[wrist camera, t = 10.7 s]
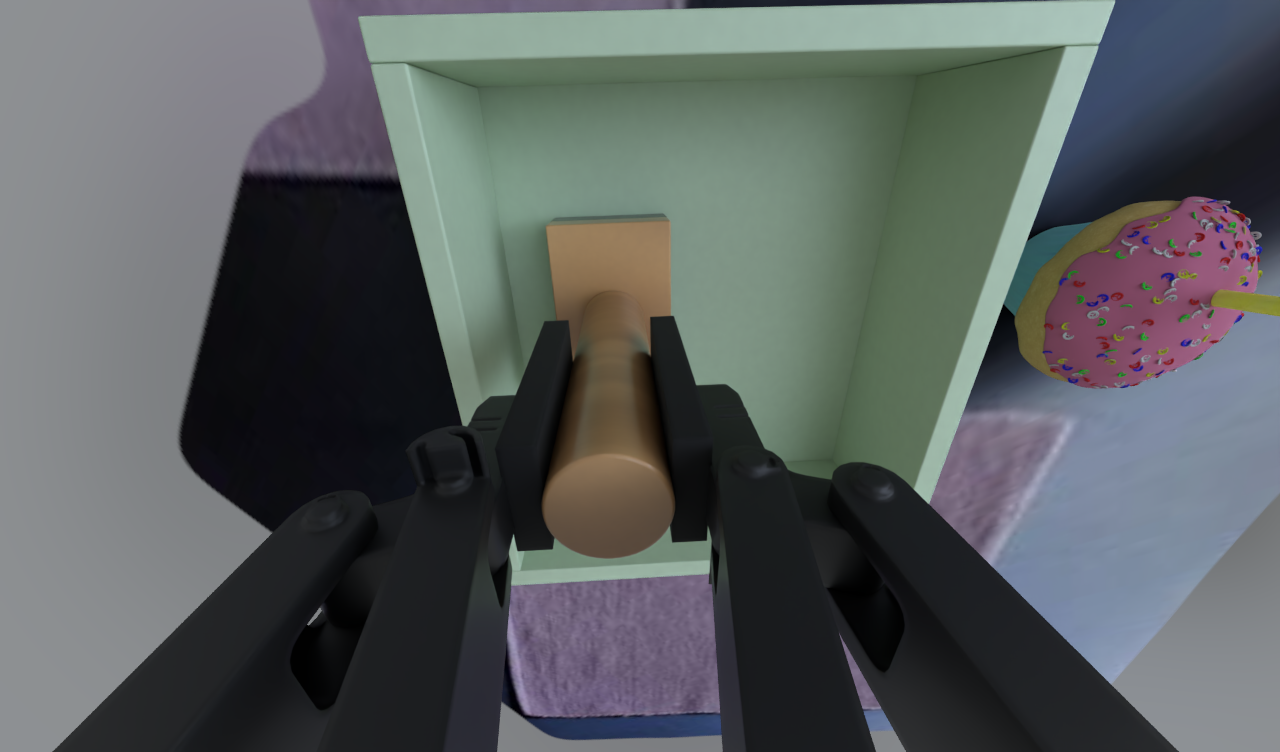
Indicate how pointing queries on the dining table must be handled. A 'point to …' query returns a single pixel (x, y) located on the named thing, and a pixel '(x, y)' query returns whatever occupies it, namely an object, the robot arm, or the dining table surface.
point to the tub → (743, 202)
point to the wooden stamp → (610, 385)
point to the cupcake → (1135, 291)
